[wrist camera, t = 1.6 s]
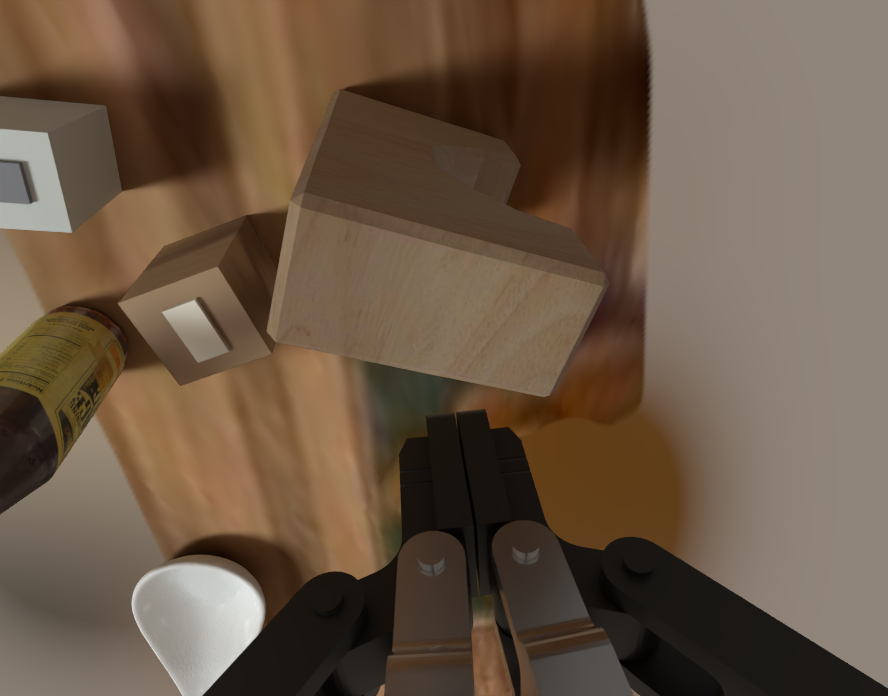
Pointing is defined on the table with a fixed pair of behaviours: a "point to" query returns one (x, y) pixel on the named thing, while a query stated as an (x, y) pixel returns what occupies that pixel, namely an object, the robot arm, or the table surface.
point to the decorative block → (427, 255)
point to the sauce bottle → (52, 393)
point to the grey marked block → (54, 164)
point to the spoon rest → (198, 617)
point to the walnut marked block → (206, 301)
